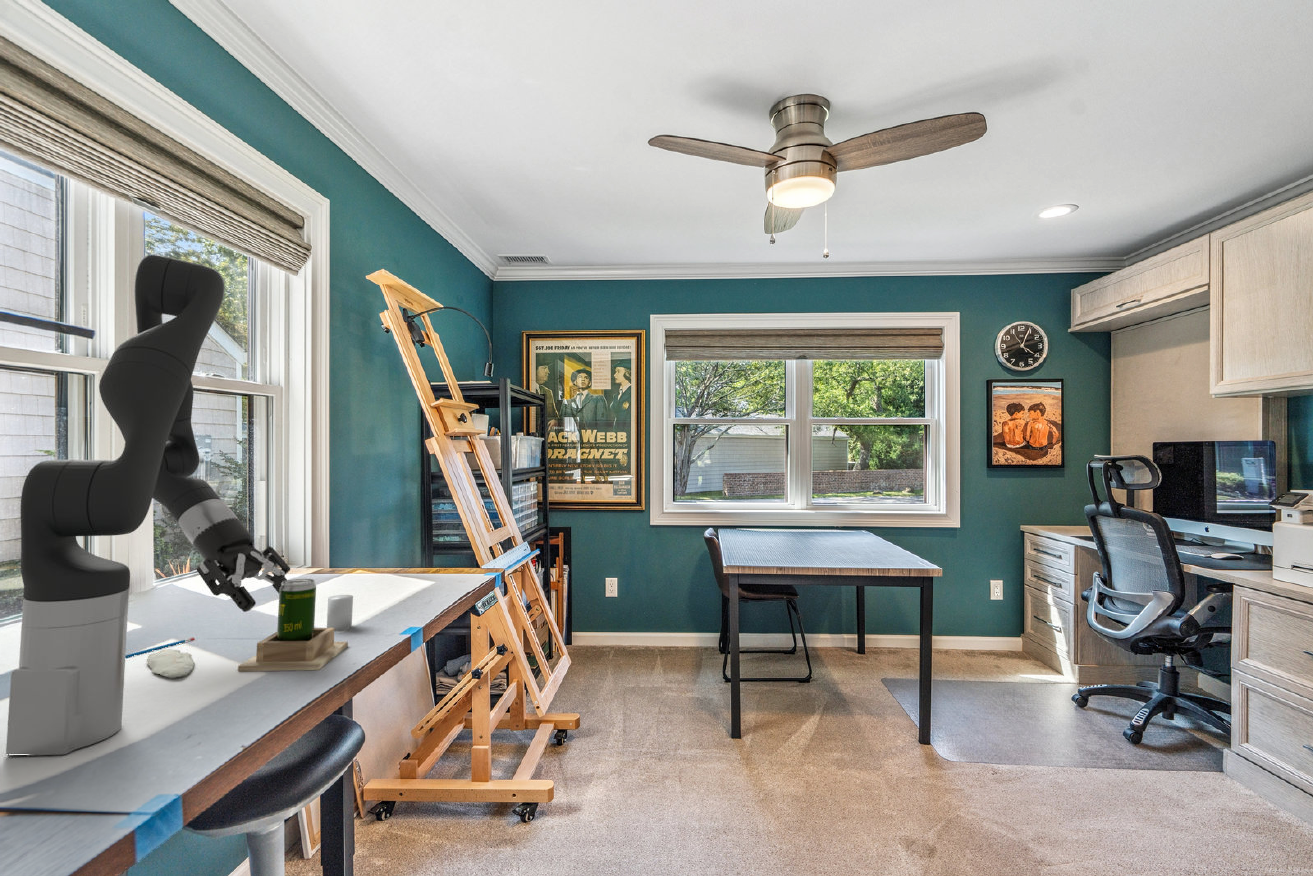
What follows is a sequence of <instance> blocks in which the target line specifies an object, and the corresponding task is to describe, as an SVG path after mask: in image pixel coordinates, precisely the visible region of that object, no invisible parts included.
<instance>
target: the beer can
mask: <svg viewBox="0 0 1313 876" xmlns="http://www.w3.org/2000/svg"><path fill="white" fill-rule="evenodd" d="M281 585H282V586H281V587H280V589H279V593H278V595H279V596H278V610H277V611H278V612H277V614H278V615H277V630H276V632H277V641H310V640H311V639H313V638H314V628H315V619H316V618H315V617H316V600H317V584H316V579H313V578H294V579H287V581H283V582H282V583H281Z"/></svg>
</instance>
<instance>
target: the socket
mask: <svg viewBox="0 0 1313 876" xmlns="http://www.w3.org/2000/svg"><path fill="white" fill-rule="evenodd" d="M348 645H349V642H348V641H335V631H334V628H327V627H314V638H313V639H311V640H310V641H277V631H276V632H273V633H272V634H271V635H269V636H266V637H265V638H264V639H262V640H260V641H259V642H257V643H256V654H255V655H254V656H251V658H249V659H247V660H246V661H244V662H242V663H241V664H239V665H237V672H260V671H262V672H263V671H264V672H265V671H266V672H267V671H269V672H270V671H271V672H272V671H273V672H274V671H276V672H277V671H278V672H279V671H319V670H320V669H322V668H323V667H324V666H325V665H327V664H328V663H329V662H330V661H332V660H333V659H334V658H335V657H337V655H339V654H340V653H341V652H343V651H344V650H345V649H346V648H347V647H348ZM332 658H333V659H332Z"/></svg>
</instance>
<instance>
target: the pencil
mask: <svg viewBox="0 0 1313 876" xmlns="http://www.w3.org/2000/svg"><path fill="white" fill-rule="evenodd" d="M193 640H194V641H196V640H195V637H190V638H186V639H183V640H178V641H175V642H171V643H167V644H163V645H159V646H155V647H152V648H149V649H144V650H141V651H137V652H132V653H129V654H126V655H125V658H126V659H128V658H129V659H130V658H132V656H133V657H135V656H134V655H137V656H141V655H143V654H144V653H145V654H148V653H151V652H150V651H152V650H156V651H159V649H160V650H163V649H162V648H164V649H166V648H165V647H167V648H169V647H168V646H171V647H175V646H177V645H176V644H179V643H182V642H185V641H190V642H193ZM182 644H183V643H182ZM174 645H175V646H174ZM179 645H180V644H179ZM147 652H148V653H147ZM152 652H153V651H152ZM140 654H141V655H140ZM145 654H144V655H145Z"/></svg>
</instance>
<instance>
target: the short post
mask: <svg viewBox="0 0 1313 876" xmlns="http://www.w3.org/2000/svg"><path fill="white" fill-rule="evenodd" d="M353 605H354V596H353V595H352V594H338V595H337V594H336V595H331V596H329V597H327V615H326V617H327V618H326V628H334V632H336V631H337V632H338V631H345V630H344V629H346V630H348V629H347V628H349V629H351V628H352V625H353ZM350 627H351V628H350Z"/></svg>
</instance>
